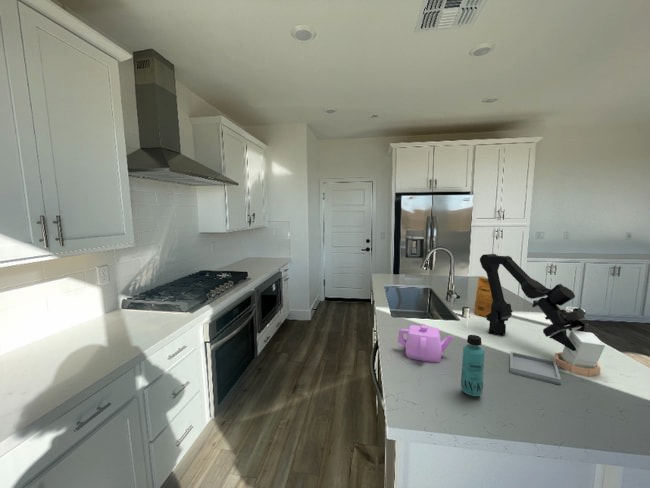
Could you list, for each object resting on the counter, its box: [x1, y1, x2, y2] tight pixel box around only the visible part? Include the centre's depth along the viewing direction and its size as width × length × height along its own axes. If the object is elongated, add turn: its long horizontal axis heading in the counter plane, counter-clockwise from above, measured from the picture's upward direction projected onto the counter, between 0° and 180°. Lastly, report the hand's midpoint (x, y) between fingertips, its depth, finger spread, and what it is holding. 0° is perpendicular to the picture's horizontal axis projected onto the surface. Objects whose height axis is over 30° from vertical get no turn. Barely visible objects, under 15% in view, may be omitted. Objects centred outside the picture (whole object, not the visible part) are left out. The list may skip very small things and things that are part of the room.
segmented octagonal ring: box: [553, 351, 601, 377], centre depth 109 cm, size 13×13×2 cm
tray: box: [509, 351, 562, 386], centre depth 108 cm, size 15×15×2 cm
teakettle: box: [397, 323, 454, 363], centre depth 120 cm, size 17×17×12 cm
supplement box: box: [561, 330, 606, 368], centre depth 107 cm, size 7×7×13 cm
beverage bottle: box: [460, 334, 486, 397], centre depth 92 cm, size 6×7×20 cm
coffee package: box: [473, 276, 493, 318], centre depth 164 cm, size 10×12×22 cm
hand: (583, 348), depth 106 cm, fingers closed on supplement box, 9 cm apart
